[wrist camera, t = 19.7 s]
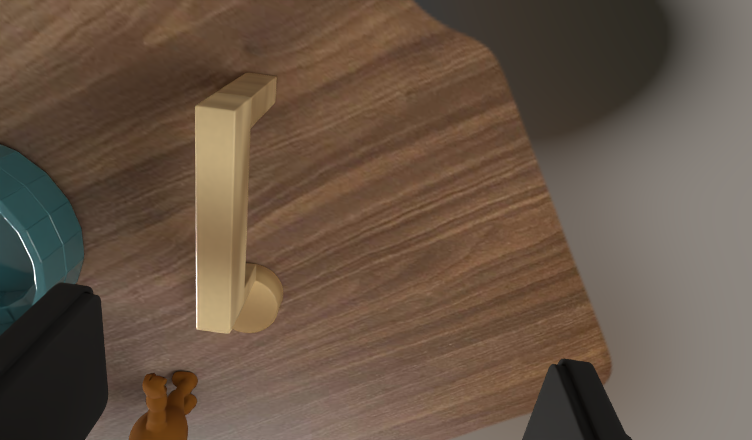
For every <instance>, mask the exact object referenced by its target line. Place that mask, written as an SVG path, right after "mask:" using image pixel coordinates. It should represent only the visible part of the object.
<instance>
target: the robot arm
mask: <svg viewBox="0 0 752 440" xmlns="http://www.w3.org/2000/svg"><path fill="white" fill-rule="evenodd" d="M107 400H108V384H107V372H106V359H105V347H104V334H103V321H102V309H101V300H100V297H99V296H98V295H94V294H93V290H92V289H91V287H89V286H83V285H77V284H70V283H64V282H61V283H57V284H56V285H54V286H53V287H52V288H51V289H50V290H49V291H48V292H47V293H46V294H45V295H44V296H43V297H41V298H40V299H39V300H38V301H37V302H36V303H35V304H34V305H33V306H32V307H31V308H30V309H28V310H27V311H26V312H25V313H24V314H23V315H22V316H21V317H20V318H19V319H18V320H17V321H15V322H14V323H13V324H12V325H11V326H10V327H9V328H8V329H7V330H6V331H5V332H4V333H2V334H1V335H0V440H85V439H86V437H87V436H88V434H89V433H90V431H91V430H92V428H93V427H94V425H95V424H96V422H97V421H98V419H99V418H100V416H101V415H102V413H103V411H104V409H105V407H106V404H107ZM522 440H632V439H631V437H629V436H628V435H627V434H626V433H625V431H624V429H623V427H622V425H621V423H620V421H619V419H618V417H617V415H616V412H615V410H614V408H613V406H612V404H611V402H610V400H609V398H608V396H607V394H606V392H605V390H604V387H603V385H602V383H601V381H600V379H599V377H598V375H597V373H596V370H595V368H594V367H593V365H592V364H591V363H589V362H583V361H576V360H570V359H561V360H560V361H559V363H558V365H556V364H552V365H551V366H550V367H549V369H548V372H547V374H546V377H545V380H544V382H543V385H542V388H541V390H540V393H539V396H538V399H537V401H536V404H535V407H534V409H533V412H532V415H531V417H530V420H529V423H528V426H527V428H526V431H525V433H524V436H523V439H522Z"/></svg>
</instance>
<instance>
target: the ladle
mask: <svg viewBox="0 0 752 440" xmlns="http://www.w3.org/2000/svg"><path fill="white" fill-rule="evenodd" d="M276 82H277V77H276V76H271V75H264V74H257V73H250V72H247V73H245V74H243V75H242V76H240V77H239V78H237V79H236V80H234V81H233V82H231V83H229V84H228V85H226V86H225V87H223V88H222V89H220V90H219V91H217V92H216V93H214V94H213V95H211V96H209V97H208V98H206V99H205V100H203V101H202V102H200V103H199V104H197V105H196V106H195V184H196V329H197V330H204V331H212V332H220V333H227V334H229V333H230V332H231V330H232V329H233V330H236V331H239V332H244V333H254V332H259V331H262V330H264V329H266V328H267V327H269V326H270V325H271V324H272V323H273V322H274V320H275V318H276V316H277V313H278V311H279V308H280V305H281V302H282V299H283V287H282V284H281V282H280V280H279V279H278V277H277V276H276V275H275V274H274V273H273V272H272V271H271V270H269V269H268V268H266V267H264V266H261V265H258V264H253V263H246V237H247V210H248V183H249V156H250V130H251V127H252V126H253V125H254V124H255V123H256V122H257V121H258V120H259V119H260V118H261V117H262V116H263V115H264V114H265V113H266V112H267V111H268V110H269V109H270V108H271V107H272V106H273V104H274V103H275V100H276Z"/></svg>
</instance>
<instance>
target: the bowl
mask: <svg viewBox="0 0 752 440" xmlns="http://www.w3.org/2000/svg"><path fill="white" fill-rule="evenodd" d="M83 260H84V247H83V237H82V230H81V226H80V224H79V222H78V219H77V217H76V215H75V213H74V211H73V208H72V206H71V204H70V202H69V200H68V199H67V197H66V196H65V195H64V194H63V193H62V191H61V190H60V189H59V188H58V186H57V185H56V184H55V183H54V182H53V180H52V179H51V178H50V177H49V175H48V174H47V173H46V172H44V171H43V170H42V169H40V168H39V167H38V166H36V165H35V164H34V163H32V162H31V161H30V160H28V159H27V158H26V157H24V156H23V155H22V154H20V153H19V152H17V151H15V150H13V149H10V148H8V147H6V146H3V145H1V144H0V335H1V334H2V333H4V332H5V331H6V330H7V329H8V328H9V327H10V326H11V325H12V324H13V323H14V322H15V321H17V320H18V319H19V318H20V317H21V316H22V315H23V314H24V313H25V312H26V311H27V310H28V309H30V308H31V307H32V306H33V305H34V304H35V303H36V302H37V301H38V300H39V299H40V298H41V297H43V296H44V295H45V294H46V293H47V292H48V291H49V290H50V289H51V288H52V287H53V286H54V285H56V284H57V283H61V282H64V283H70V284H76V283H77V280H78V278H79V274H80V271H81V267H82V264H83Z"/></svg>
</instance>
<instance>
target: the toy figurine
mask: <svg viewBox="0 0 752 440" xmlns="http://www.w3.org/2000/svg"><path fill="white" fill-rule="evenodd" d="M172 381H173V384H174V385H175V386H176V387H177V388H176V390H174V391H172V392H171V393H170V395H169V396H168V398H167V394H166V392H167V388H166V386H165V384H166V382H167V379H166V378H164V377H161V376H156V374H155V373H151V374H147V375H146V376H145V378H144V381H143V384H142V386H143V391H144V392H145V394H146V395H147V397H146V404H147V407H148V408H149V410H148V412H147V413H145V414H144V415H142V416H141V417H140V418H139V419H138V420H137V422H136V423H135V424H134V426H133V428H132V430H131V432H130V436H129V440H187V436H188V425H187V420H186V417H185V415H187V414H188V413H190V412H191V410H192V409H193V408H194V407H195V406H196V403H197V399H196V397H195V396H194V395H192V394H190V393H191V391H192V390H193V388H195V387H196V385H197V382H198V380H197V377H196V376H195V375H194V374H193V373H190V372H182V371H179V372H175V373H174V374H173V377H172Z"/></svg>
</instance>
